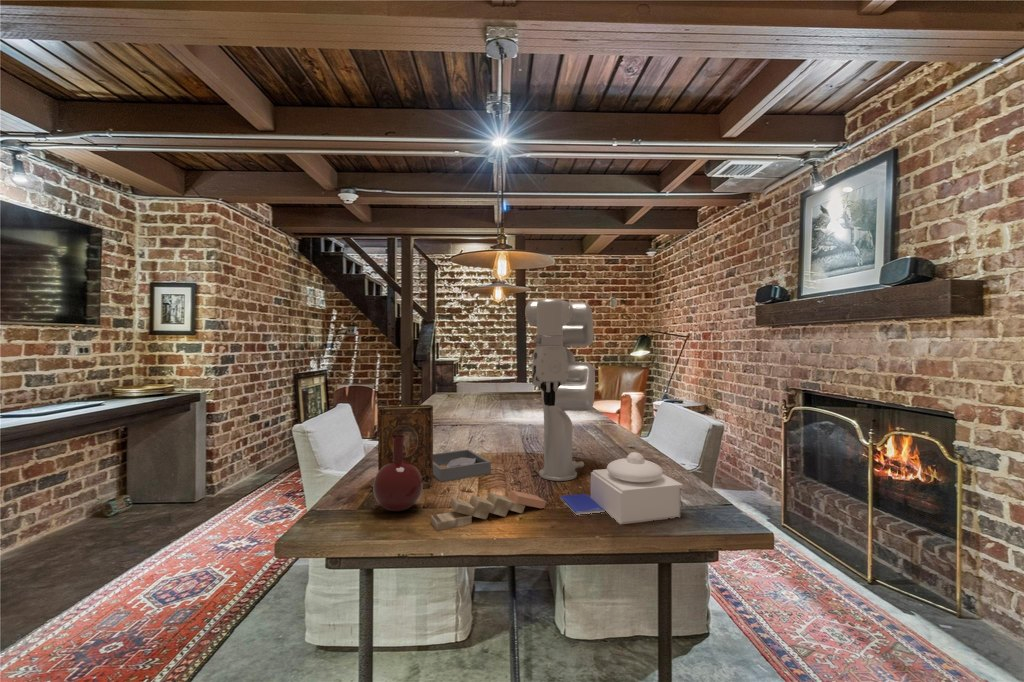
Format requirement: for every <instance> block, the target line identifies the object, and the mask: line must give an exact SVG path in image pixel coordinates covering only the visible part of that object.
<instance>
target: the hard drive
mask: <svg viewBox="0 0 1024 682" xmlns="http://www.w3.org/2000/svg"><path fill="white" fill-rule="evenodd" d="M561 499H562V500H563V501H564V502H565V503H564V502H563V501H562V500H561ZM560 500H561V501H562V502H563V503H564V505H565V506H566V505H567V506H568V507H569V508H570V509H571V510H572V511H573V512H574V513H575V514H576V515H579V516H581V515H580V514H590V513H591V514H590V515H593V514H592V513H600V512H605V510H604V509H603V508H602V507H601V506H599V505H598V504H597V503H596V502H595V501H594V500H593V499H591V496H590V495H588V493H587V494H586V493H582V494H568V495H561V496H560ZM568 507H567V508H568ZM569 508H568V509H569ZM570 509H569V510H570ZM571 510H570V511H571ZM572 511H571V512H572ZM573 512H572V513H573ZM574 513H573V514H574ZM605 513H606V512H605ZM575 514H574V515H575ZM576 515H575V516H576Z"/></svg>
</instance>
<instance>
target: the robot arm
mask: <svg viewBox="0 0 1024 682" xmlns="http://www.w3.org/2000/svg"><path fill="white" fill-rule="evenodd" d="M524 309H525V310H524V314H525V319H526V322H527V323H528V324H529V325H530V326H536V336H535V337H534V338H533V339H532V341H533V343H534V344H536V346H535V347H534V349H533V356H532V363H531V364H532V366H531V377H532V380H533V381H532V385H533V386H535V387H539V388H540V389H541V392H540V393H541V395H540V396H541V402H542V408H543V468H541V469H539V471H538V472H539V473H538V475H539V476H540V478H542V479H545V480H549V481H553V482H554V481H555V482H556V481H557V482H565V481H570V480H574V479H576V478H577V476H578V472H577V471H576V469H577V468H583V467H584V466H585V463H584V461H576V460H573V422H572V420H571V418H570V416H569V415H568V413H566V411H567V412H568V411H573V412H574V411H577V412H578V411H579V412H589V411H590V410H592V408H594V403H595V389H596V387H595V386H596V373H595V368H594V366H593V365H592V363H589V362H583V361H582V362H581V361H576V357H575V355H574V354H573V352H572V351H571V350H570V349H569V348H567V347H588V346H590V345H592V344H593V342H594V338H595V337H594V336H595V333H594V332H595V331H594V317H593V311H592V307H591V306H590V304H589V303H588V302H586V301H569V302H568V301H566V300H563V299H555V298H543V299H540V300H530V301H529V302H527V304H526V306H525V308H524Z"/></svg>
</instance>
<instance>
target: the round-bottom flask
mask: <svg viewBox="0 0 1024 682" xmlns="http://www.w3.org/2000/svg"><path fill="white" fill-rule="evenodd" d="M392 438H393V461H392V462H390V463H388V464H386V465H384V466H383V467H382V468H381V469H380V470H379V471H377V473H376V475H375V477H374V479H373V483H372V487H373V488H372V490H373V491H372V493H373V496H374V498H375V500H376V502H377V503H378V505H380V507H382V508H384V509H385V510H386V511H390V512H402V511H405V510H408V509H410V508H411V507H413V506H414V505H415V504H416V503H417V502H418V500H419V499H420V497H421V495H422V493H423V490H424V489H423V479H422V476H421V473H420V471H419V470H418V469H417V467H416V466H414V465H413V464H412V463H410V462H407V461H403V438H404V436H402V435H396V436H393V437H392Z"/></svg>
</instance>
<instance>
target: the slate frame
mask: <svg viewBox="0 0 1024 682" xmlns="http://www.w3.org/2000/svg"><path fill="white" fill-rule="evenodd" d="M458 458H472V459H474V458H476V463H475V464H468V465H461V466H455V467H448V468H446V467H444V468H443V467H442V466H441V465H443V466H444V465H447V464H448V463H449V462H450V461H451V460H454V459H458ZM485 474H486V475H491V474H492V462H491V461H490V460H489V459H486V458H485V457H483V456H481V455H479V454H478V453H476V452H475V451H472V450H471V449H461V450H455V451H445V452H440V453H439V452H438V453H433V478H435V479H436V480H437V481H439V482H441V483H442V481H443V482H447V481H448V482H449V481H453V480H454V481H455V480H460V478H461V479H466V478H465V477H468V478H472V477H471V476H474V477H478V476H477V475H480V476H484V475H485Z"/></svg>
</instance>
